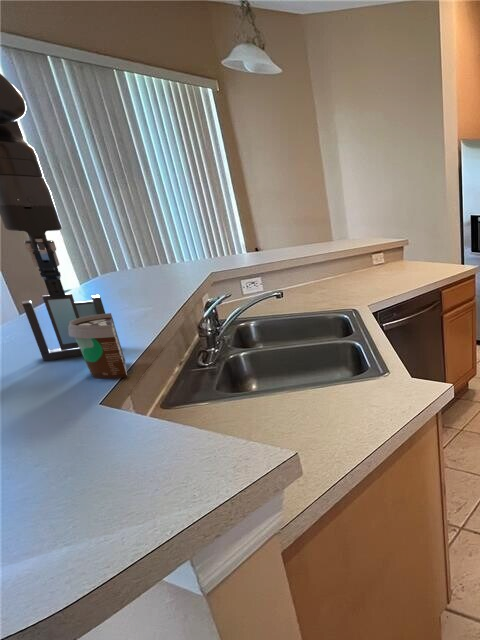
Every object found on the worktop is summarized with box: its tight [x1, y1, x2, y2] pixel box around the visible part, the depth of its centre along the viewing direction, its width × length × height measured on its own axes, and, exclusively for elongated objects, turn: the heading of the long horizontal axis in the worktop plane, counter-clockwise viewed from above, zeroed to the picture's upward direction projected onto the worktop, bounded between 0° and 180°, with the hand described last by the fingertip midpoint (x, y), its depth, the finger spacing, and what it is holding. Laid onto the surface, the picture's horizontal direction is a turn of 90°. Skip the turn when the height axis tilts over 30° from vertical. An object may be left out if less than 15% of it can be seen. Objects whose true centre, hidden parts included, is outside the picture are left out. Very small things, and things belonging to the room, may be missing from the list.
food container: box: [68, 313, 128, 380], centre depth 81 cm, size 12×6×10 cm, turn 40°
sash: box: [42, 293, 80, 350], centre depth 88 cm, size 4×1×15 cm, turn 136°
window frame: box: [21, 294, 106, 362], centre depth 90 cm, size 11×3×12 cm, turn 136°
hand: (58, 297), depth 87 cm, fingers closed
